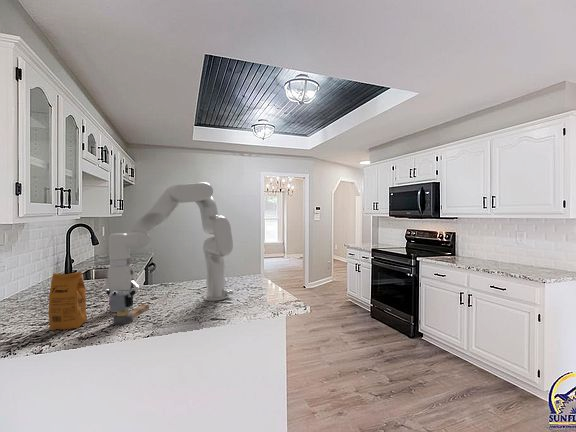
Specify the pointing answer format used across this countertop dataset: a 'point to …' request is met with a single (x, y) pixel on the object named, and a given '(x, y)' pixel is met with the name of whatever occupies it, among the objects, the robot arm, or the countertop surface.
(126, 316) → the wooden handled hammer
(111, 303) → the blue gray cube
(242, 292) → the countertop surface
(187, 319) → the countertop surface
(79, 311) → the coffee package
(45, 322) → the countertop surface
